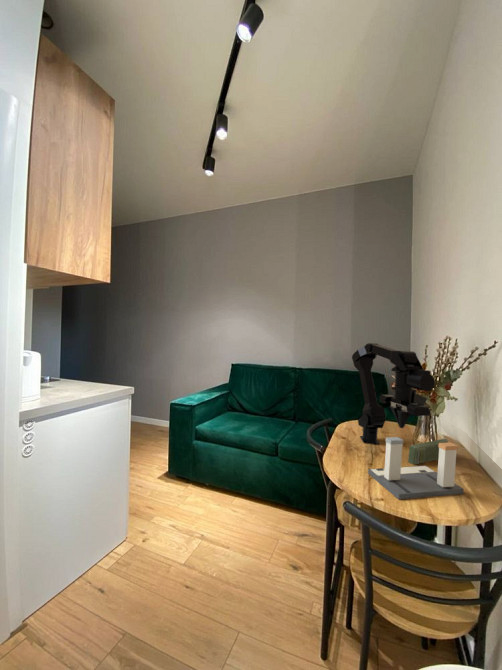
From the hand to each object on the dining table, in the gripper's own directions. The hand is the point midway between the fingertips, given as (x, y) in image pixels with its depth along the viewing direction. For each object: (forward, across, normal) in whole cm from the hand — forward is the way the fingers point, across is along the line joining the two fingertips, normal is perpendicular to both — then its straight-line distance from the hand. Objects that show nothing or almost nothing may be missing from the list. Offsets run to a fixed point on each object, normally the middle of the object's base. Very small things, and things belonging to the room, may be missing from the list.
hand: (401, 427), depth 98 cm
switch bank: (+12, -14, +6) cm, 20 cm away
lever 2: (+10, -19, 0) cm, 21 cm away
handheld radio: (+13, 0, -15) cm, 19 cm away
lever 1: (+10, -14, +14) cm, 22 cm away
